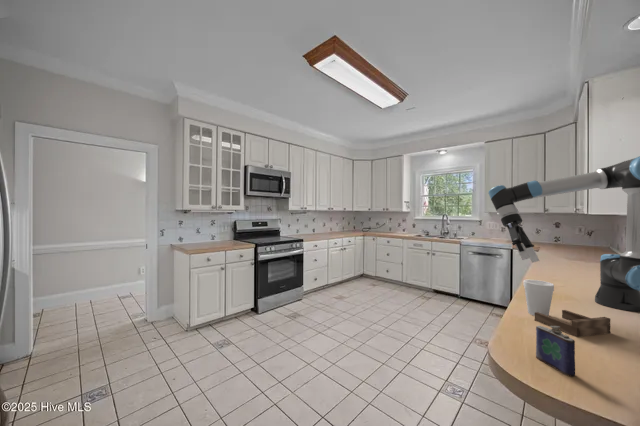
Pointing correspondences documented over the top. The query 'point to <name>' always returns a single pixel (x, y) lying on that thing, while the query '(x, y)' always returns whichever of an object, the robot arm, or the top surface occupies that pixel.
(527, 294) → the foam cup
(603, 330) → the corral
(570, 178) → the robot arm
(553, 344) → the flask
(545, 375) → the top surface
